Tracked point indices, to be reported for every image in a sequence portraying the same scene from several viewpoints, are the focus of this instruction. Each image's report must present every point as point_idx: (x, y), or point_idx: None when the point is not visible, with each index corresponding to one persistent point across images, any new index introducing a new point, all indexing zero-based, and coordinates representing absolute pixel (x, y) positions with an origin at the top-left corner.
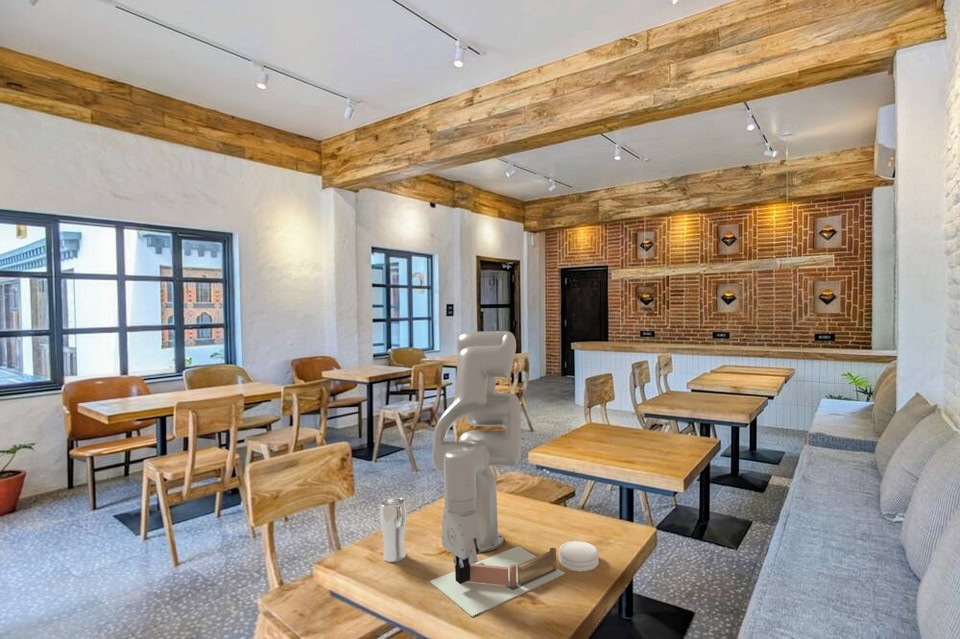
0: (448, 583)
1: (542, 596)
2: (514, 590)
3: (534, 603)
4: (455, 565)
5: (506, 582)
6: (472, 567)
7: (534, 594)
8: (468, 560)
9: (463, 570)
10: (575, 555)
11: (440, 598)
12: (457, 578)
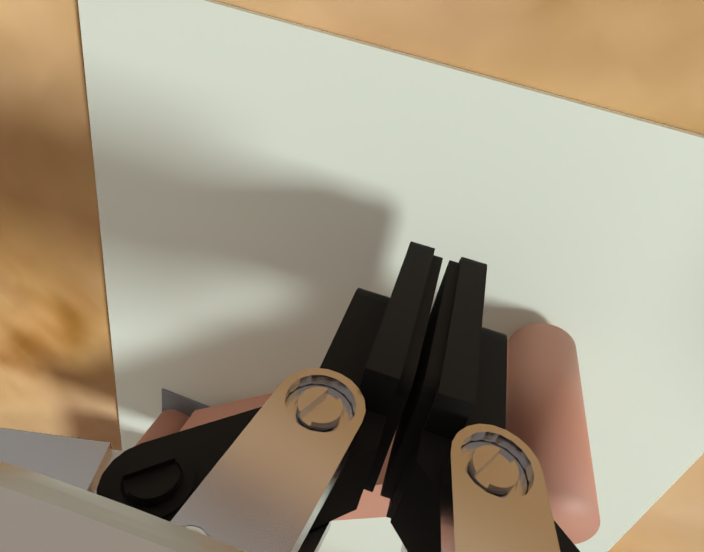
0: (642, 268)
1: (51, 402)
2: (158, 392)
3: (20, 340)
4: (461, 396)
5: (189, 426)
6: (381, 470)
7: (84, 403)
8: (100, 488)
9: (325, 360)
10: None
11: (567, 3)
12: (446, 277)
